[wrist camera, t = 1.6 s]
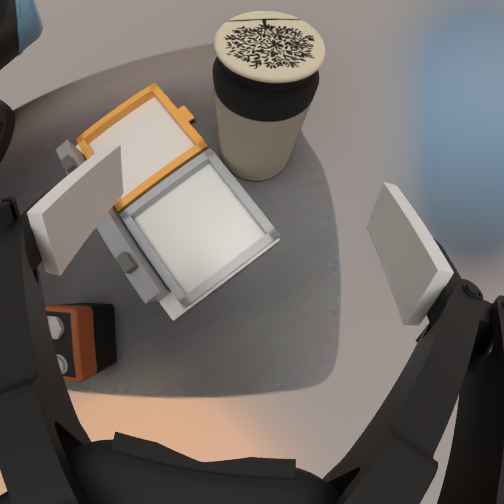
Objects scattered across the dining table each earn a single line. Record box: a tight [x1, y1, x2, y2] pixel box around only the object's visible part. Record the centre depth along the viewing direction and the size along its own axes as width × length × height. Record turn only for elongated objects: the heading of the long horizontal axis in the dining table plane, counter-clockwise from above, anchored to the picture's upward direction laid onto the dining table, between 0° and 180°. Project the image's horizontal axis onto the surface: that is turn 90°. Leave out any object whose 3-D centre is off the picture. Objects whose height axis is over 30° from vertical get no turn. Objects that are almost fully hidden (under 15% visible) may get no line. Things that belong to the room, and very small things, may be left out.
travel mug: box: [213, 11, 326, 181], centre depth 25 cm, size 8×8×18 cm
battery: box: [45, 303, 116, 382], centre depth 26 cm, size 4×7×10 cm, turn 1°
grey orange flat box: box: [56, 83, 280, 321], centre depth 30 cm, size 25×15×7 cm, turn 37°
